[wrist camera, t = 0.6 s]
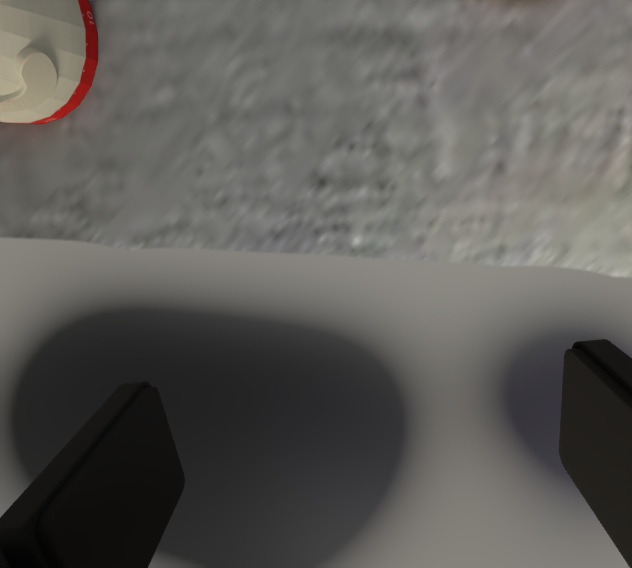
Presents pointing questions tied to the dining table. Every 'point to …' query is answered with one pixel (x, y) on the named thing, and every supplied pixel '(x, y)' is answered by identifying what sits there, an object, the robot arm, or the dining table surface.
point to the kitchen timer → (45, 58)
